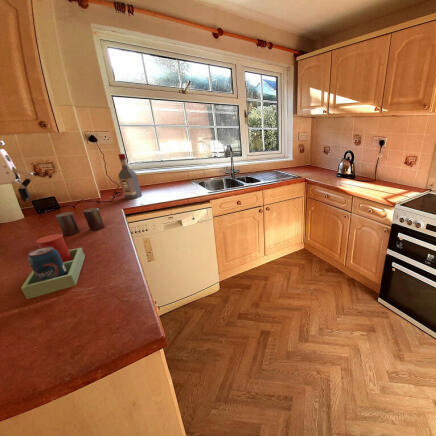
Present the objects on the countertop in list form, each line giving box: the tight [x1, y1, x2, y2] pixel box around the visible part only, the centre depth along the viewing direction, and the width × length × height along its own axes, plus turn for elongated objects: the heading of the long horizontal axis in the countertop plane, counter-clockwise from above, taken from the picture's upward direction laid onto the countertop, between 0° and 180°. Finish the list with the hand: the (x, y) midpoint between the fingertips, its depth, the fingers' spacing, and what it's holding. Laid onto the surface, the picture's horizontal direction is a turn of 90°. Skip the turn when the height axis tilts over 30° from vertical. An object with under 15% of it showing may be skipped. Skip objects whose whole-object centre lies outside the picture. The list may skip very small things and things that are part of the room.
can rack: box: [20, 247, 86, 300], centre depth 83 cm, size 12×22×5 cm, turn 32°
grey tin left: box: [55, 211, 81, 237], centre depth 116 cm, size 6×6×10 cm
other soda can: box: [35, 233, 73, 262], centre depth 86 cm, size 7×7×12 cm
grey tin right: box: [82, 207, 106, 232], centre depth 121 cm, size 6×6×10 cm
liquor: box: [118, 153, 143, 200], centre depth 168 cm, size 9×9×30 cm
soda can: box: [27, 246, 68, 282], centre depth 78 cm, size 7×7×12 cm
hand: (4, 202), depth 75 cm, fingers open, 9 cm apart
